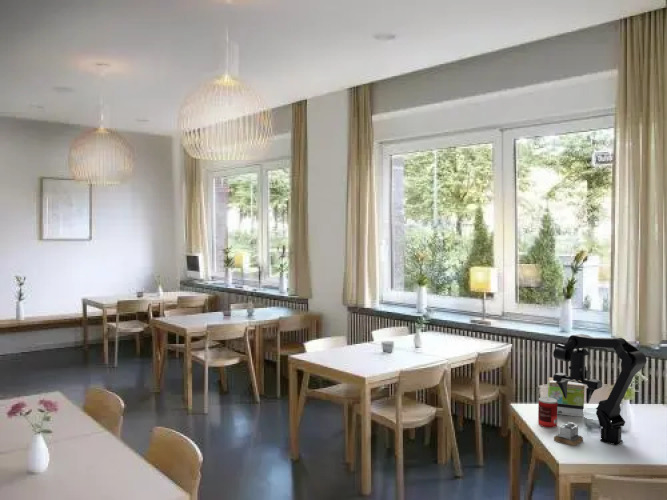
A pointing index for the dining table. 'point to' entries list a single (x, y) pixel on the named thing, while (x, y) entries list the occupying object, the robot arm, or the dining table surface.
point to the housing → (568, 430)
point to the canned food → (547, 412)
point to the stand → (572, 442)
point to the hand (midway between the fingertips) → (576, 400)
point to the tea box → (568, 398)
